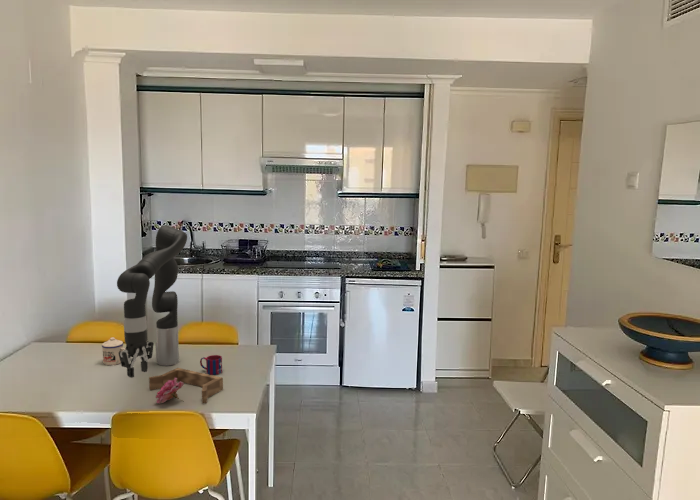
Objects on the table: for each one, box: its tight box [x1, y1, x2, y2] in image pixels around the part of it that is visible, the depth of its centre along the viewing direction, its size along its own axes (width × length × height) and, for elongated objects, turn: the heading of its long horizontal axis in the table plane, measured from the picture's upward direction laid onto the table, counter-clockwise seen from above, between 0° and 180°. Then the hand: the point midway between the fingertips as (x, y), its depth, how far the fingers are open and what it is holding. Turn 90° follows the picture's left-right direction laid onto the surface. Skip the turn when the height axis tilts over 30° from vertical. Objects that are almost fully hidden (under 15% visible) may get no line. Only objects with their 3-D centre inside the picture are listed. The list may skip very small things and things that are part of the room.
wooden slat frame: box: [148, 367, 224, 404], centre depth 214 cm, size 29×14×5 cm, turn 65°
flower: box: [155, 378, 185, 405], centre depth 203 cm, size 11×10×10 cm
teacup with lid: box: [101, 337, 128, 366], centre depth 243 cm, size 12×9×12 cm
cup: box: [199, 354, 223, 376], centre depth 234 cm, size 7×10×7 cm
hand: (137, 374), depth 190 cm, fingers open, 5 cm apart
